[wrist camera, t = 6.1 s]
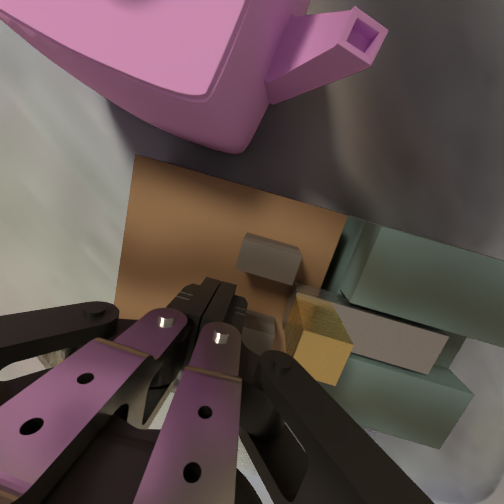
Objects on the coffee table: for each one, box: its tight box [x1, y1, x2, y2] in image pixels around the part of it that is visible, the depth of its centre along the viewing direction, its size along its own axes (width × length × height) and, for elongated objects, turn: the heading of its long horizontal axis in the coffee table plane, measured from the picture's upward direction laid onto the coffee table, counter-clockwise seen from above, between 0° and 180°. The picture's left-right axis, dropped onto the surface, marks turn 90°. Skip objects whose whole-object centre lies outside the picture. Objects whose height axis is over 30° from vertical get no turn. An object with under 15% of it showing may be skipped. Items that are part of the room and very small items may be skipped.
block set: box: [114, 154, 504, 449], centre depth 16 cm, size 11×21×6 cm, turn 74°
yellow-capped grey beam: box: [282, 281, 449, 386], centre depth 12 cm, size 2×8×5 cm, turn 74°
